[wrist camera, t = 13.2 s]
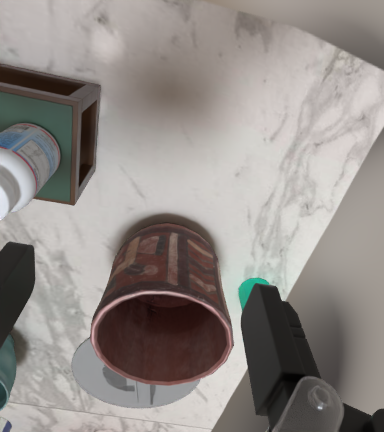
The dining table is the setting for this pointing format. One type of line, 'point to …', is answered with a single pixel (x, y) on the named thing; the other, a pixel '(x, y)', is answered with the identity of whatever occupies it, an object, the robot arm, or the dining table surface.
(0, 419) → the water bottle
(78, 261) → the dining table surface
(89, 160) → the stand
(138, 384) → the plate
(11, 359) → the flower pot
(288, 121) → the dining table surface
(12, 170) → the pill bottle
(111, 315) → the pottery
